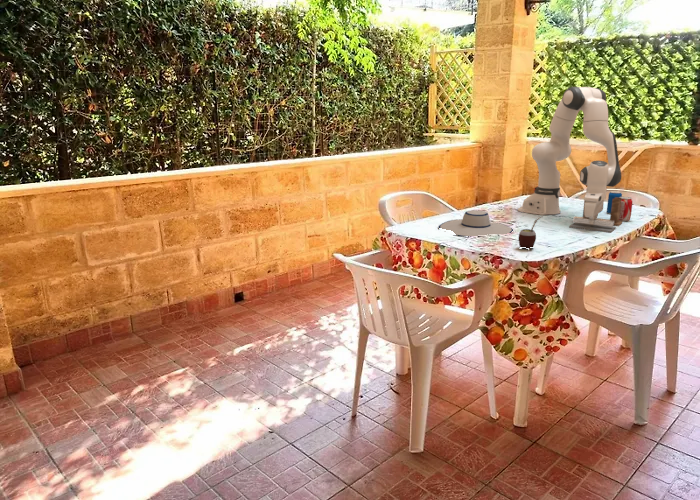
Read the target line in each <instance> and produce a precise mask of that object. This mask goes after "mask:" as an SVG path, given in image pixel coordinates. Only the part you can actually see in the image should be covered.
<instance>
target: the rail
mask: <svg viewBox="0 0 700 500" xmlns="http://www.w3.org/2000/svg"><path fill="white" fill-rule="evenodd" d="M603 219H604V218H599V219H594V224H592V225H601V226H609V227H615V226H614V221H612V220H610V219H608V220H603ZM572 223H584V224H589V218H585V217H583V216H573V218H572Z"/></svg>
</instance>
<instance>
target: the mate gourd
mask: <svg viewBox="0 0 700 500" xmlns="http://www.w3.org/2000/svg"><path fill="white" fill-rule="evenodd" d="M543 216H544V215H540V216H539V217H537V218H536V219H535V220H534V222H533V225H532V227H531V229H528V228H525V229H521V230H520V231H519V232H518V233H519V234H518V244H519V248H520V247H526V248H530V247H534V246H535V243H536V239H537V234H536V231H535V230H534V227H535V225H536V223H537V222H538V220H541V218H543Z"/></svg>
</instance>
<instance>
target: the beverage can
mask: <svg viewBox="0 0 700 500" xmlns="http://www.w3.org/2000/svg"><path fill="white" fill-rule="evenodd" d="M615 197H618V198H619V197H623V194H622V192H621V191H618V190H610V191H609V193H608V198H607V205H606V206H607V207H606V213H607V214H608V215H611V208H612V200H613V199H615Z"/></svg>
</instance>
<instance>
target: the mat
mask: <svg viewBox="0 0 700 500" xmlns="http://www.w3.org/2000/svg"><path fill="white" fill-rule="evenodd" d="M568 228H570V229H579V230H586V231H587V230H588V231H593V232H595V231H596V232H603V233H609V234H610V233H612V232H614V230H616V229H617V226H613V227H609V226H601V225H592V224H584V223H575V222H572V224H570V225H569V226H568Z"/></svg>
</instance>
